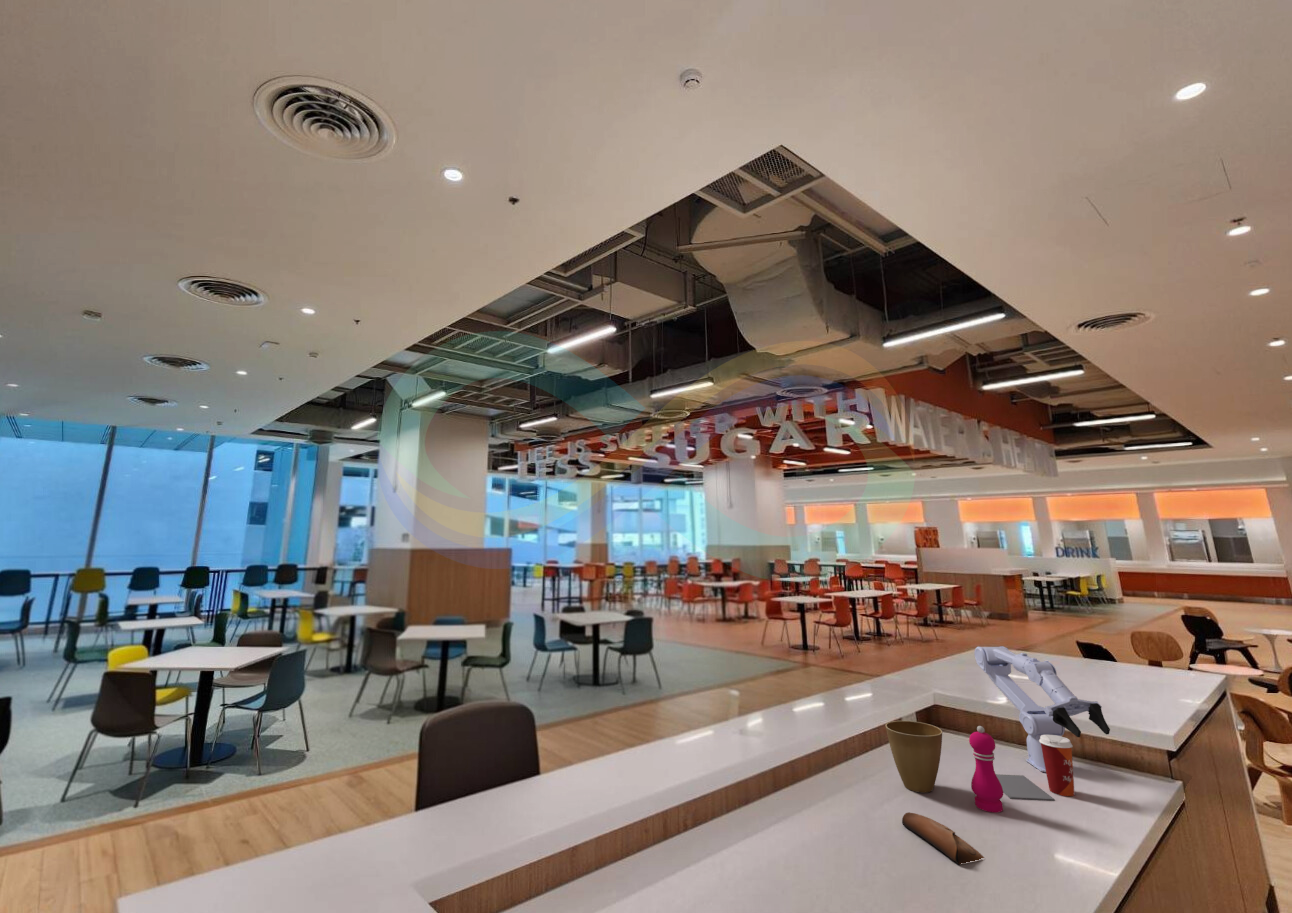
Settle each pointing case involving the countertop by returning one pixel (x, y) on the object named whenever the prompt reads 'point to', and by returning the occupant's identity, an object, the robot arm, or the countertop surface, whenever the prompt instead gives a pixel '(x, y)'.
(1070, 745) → the paper cup
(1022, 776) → the mat
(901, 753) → the plant pot
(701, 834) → the countertop surface
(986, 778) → the pepper mill
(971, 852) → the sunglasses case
